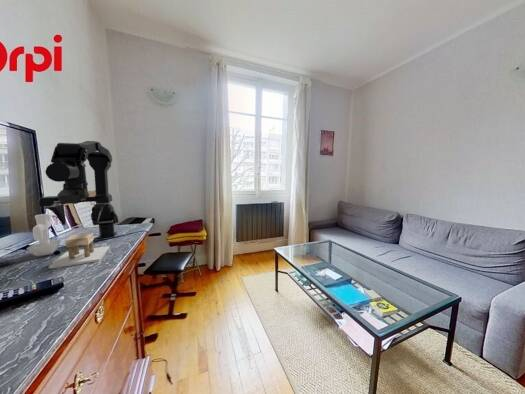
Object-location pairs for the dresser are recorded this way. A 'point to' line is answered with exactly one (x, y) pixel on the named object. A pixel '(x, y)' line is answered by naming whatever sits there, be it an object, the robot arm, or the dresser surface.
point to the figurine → (43, 237)
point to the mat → (79, 258)
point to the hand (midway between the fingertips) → (81, 223)
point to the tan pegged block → (80, 244)
